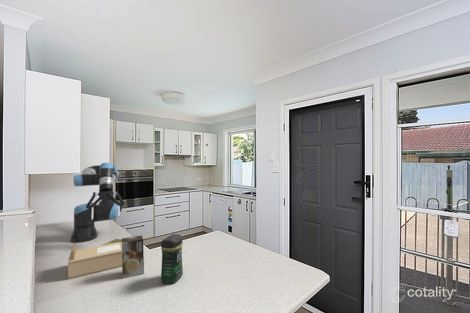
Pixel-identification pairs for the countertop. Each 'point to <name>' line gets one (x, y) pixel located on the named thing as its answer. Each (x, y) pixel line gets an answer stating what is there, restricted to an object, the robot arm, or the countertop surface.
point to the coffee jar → (171, 259)
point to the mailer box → (94, 265)
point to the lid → (94, 251)
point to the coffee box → (132, 256)
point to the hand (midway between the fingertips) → (105, 217)
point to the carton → (114, 241)
